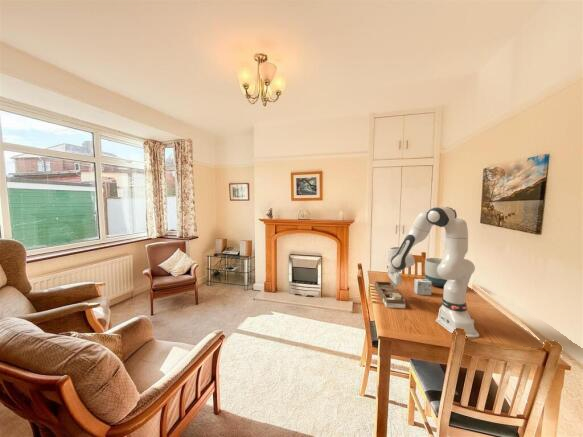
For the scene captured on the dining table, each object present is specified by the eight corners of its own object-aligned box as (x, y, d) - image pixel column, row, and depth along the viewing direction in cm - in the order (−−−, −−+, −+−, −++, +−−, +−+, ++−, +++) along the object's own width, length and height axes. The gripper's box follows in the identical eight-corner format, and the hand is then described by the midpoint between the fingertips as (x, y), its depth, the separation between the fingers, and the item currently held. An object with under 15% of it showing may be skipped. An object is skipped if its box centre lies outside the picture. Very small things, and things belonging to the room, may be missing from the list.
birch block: (401, 302, 163) (401, 296, 163) (394, 301, 164) (394, 296, 163) (398, 298, 168) (399, 293, 168) (392, 298, 169) (392, 293, 168)
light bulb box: (427, 291, 187) (428, 278, 186) (431, 295, 181) (432, 282, 180) (413, 291, 188) (414, 278, 187) (417, 294, 182) (417, 281, 181)
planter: (446, 292, 186) (448, 266, 184) (420, 284, 202) (421, 260, 200) (455, 285, 199) (456, 261, 197) (429, 279, 215) (430, 256, 213)
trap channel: (405, 308, 160) (405, 300, 160) (386, 307, 162) (386, 299, 161) (390, 288, 195) (390, 282, 194) (374, 287, 196) (375, 281, 196)
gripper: (403, 273, 162) (403, 292, 163) (394, 265, 182) (394, 282, 183) (394, 272, 162) (394, 292, 163) (386, 265, 183) (386, 282, 184)
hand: (394, 287), depth 173 cm, fingers closed
